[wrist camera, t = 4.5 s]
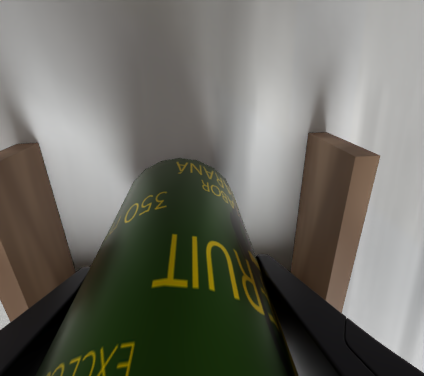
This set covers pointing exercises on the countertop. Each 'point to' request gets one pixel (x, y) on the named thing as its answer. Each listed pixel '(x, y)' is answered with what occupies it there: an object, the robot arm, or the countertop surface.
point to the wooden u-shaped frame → (304, 238)
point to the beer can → (173, 289)
